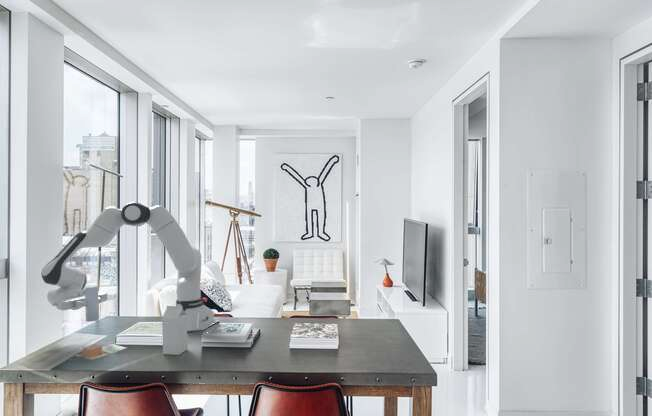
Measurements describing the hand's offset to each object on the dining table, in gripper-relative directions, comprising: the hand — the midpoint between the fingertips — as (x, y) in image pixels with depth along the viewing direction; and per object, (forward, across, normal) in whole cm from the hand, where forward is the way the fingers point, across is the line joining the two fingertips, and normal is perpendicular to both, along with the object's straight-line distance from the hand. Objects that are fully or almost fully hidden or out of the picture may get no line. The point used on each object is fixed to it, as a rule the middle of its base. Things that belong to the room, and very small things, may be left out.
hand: (93, 302), depth 190 cm
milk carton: (+34, +14, +20) cm, 42 cm away
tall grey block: (-1, 0, +8) cm, 8 cm away
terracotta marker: (+9, -7, +19) cm, 22 cm away
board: (+9, -3, +20) cm, 22 cm away
